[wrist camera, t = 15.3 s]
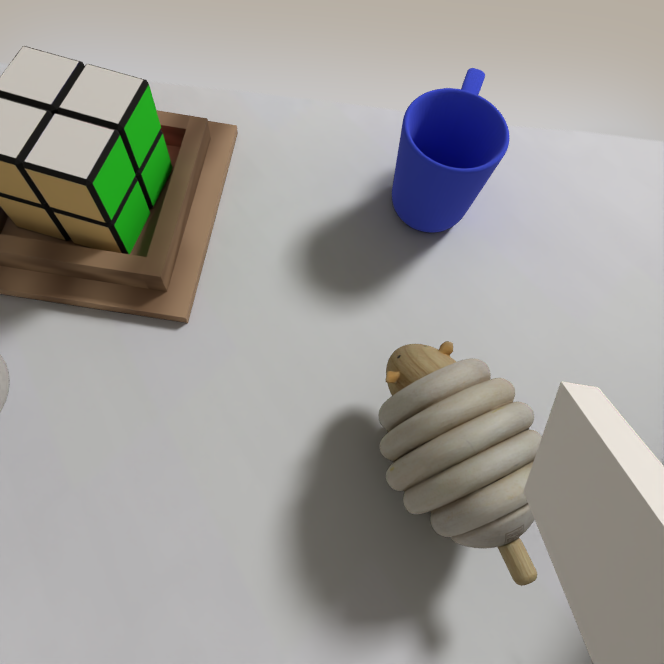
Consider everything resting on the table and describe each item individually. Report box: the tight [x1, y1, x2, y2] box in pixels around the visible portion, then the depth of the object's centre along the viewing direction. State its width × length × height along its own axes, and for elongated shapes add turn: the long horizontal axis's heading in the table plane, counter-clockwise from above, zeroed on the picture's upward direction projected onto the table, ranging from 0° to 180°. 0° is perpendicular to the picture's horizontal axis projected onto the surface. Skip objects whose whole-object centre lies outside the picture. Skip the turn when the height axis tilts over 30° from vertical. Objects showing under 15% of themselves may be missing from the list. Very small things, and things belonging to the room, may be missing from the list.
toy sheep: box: [379, 341, 542, 586], centre depth 37 cm, size 11×17×11 cm, turn 29°
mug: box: [392, 68, 509, 232], centre depth 47 cm, size 8×12×10 cm
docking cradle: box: [0, 110, 237, 323], centre depth 47 cm, size 20×20×4 cm
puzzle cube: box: [0, 46, 173, 254], centre depth 43 cm, size 10×10×10 cm
